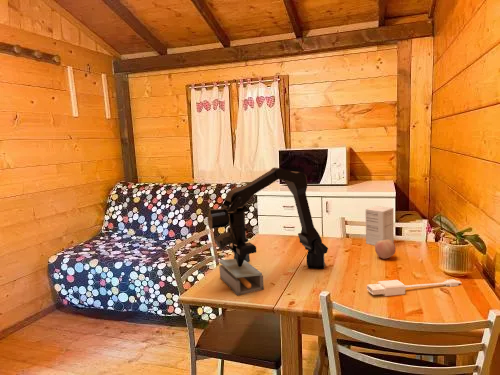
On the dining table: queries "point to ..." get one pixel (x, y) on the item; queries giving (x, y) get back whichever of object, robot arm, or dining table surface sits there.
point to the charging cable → (401, 287)
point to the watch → (245, 257)
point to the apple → (385, 248)
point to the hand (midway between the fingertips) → (239, 266)
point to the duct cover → (240, 268)
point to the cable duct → (241, 282)
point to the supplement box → (379, 224)
